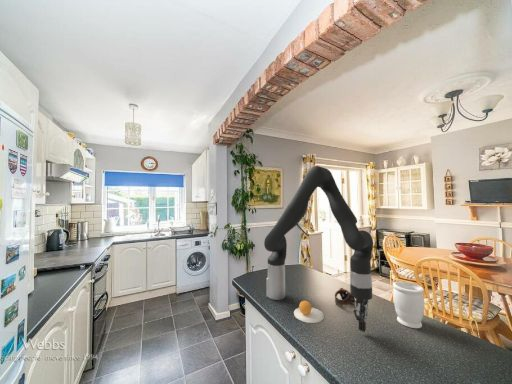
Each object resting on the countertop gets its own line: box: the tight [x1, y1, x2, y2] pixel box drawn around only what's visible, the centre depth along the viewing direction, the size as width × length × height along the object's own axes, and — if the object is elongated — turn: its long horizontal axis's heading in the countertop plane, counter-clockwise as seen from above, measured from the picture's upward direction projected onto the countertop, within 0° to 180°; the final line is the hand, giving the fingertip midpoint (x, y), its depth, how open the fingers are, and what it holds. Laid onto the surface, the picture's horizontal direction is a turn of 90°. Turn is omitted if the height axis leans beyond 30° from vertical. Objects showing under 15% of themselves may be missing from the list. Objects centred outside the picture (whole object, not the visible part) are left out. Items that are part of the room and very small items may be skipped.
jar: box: [392, 281, 425, 329], centre depth 85 cm, size 11×10×15 cm
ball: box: [298, 300, 313, 315], centre depth 92 cm, size 6×6×6 cm
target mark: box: [293, 307, 325, 324], centre depth 91 cm, size 13×13×1 cm
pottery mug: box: [334, 287, 356, 306], centre depth 101 cm, size 12×10×8 cm
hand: (362, 330), depth 78 cm, fingers closed
